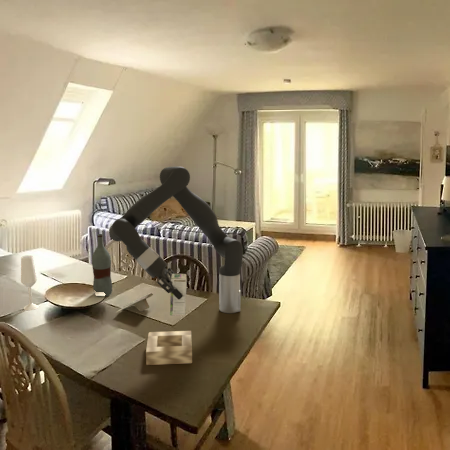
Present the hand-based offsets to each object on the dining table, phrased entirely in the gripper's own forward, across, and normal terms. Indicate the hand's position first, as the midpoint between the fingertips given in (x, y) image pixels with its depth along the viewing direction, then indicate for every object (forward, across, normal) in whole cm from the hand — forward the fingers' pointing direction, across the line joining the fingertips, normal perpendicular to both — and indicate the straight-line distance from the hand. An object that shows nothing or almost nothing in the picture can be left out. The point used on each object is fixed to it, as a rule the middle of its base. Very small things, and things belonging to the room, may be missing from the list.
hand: (182, 294), depth 181 cm
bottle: (-19, +52, +50) cm, 74 cm away
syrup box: (+4, 0, +6) cm, 8 cm away
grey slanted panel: (-4, +32, +34) cm, 47 cm away
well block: (+12, -6, +17) cm, 22 cm away
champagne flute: (-38, +31, +69) cm, 85 cm away
